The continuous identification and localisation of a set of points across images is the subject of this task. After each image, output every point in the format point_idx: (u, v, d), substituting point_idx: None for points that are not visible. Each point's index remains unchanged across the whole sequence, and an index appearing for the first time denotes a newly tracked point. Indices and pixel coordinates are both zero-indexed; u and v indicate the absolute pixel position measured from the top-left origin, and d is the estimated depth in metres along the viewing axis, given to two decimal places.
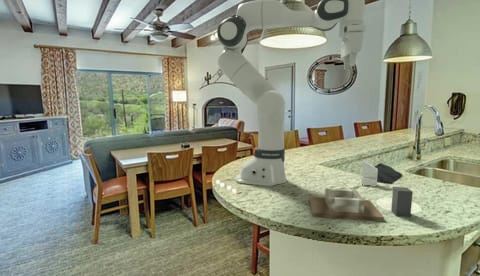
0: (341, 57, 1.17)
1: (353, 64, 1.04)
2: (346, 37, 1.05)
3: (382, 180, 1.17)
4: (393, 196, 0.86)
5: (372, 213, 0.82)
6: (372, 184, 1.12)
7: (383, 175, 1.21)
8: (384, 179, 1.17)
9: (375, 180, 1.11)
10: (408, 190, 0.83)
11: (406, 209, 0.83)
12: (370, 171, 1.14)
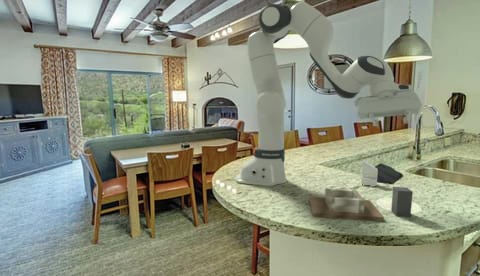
0: (364, 111, 0.98)
1: None
2: (399, 94, 0.97)
3: (383, 180, 1.17)
4: (393, 196, 0.86)
5: (372, 213, 0.82)
6: (372, 184, 1.12)
7: (383, 175, 1.20)
8: (385, 179, 1.17)
9: (375, 180, 1.11)
10: (408, 190, 0.83)
11: (406, 209, 0.83)
12: (370, 171, 1.14)
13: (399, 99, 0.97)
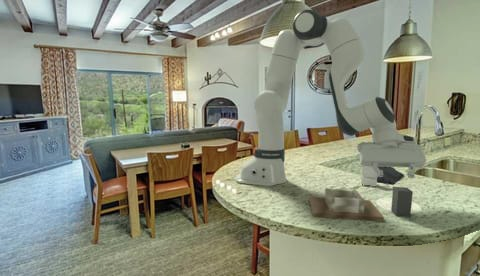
0: (369, 159, 0.93)
1: None
2: (404, 145, 0.94)
3: (383, 180, 1.17)
4: (393, 196, 0.86)
5: (372, 213, 0.82)
6: (372, 184, 1.12)
7: (384, 175, 1.20)
8: (385, 179, 1.17)
9: (375, 180, 1.11)
10: (408, 190, 0.83)
11: (406, 209, 0.83)
12: (370, 171, 1.14)
13: (403, 151, 0.94)
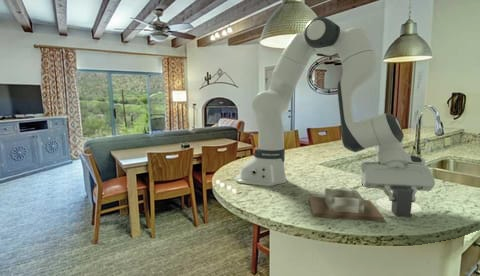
0: (374, 181, 0.87)
1: None
2: (411, 167, 0.88)
3: None
4: None
5: (372, 213, 0.82)
6: None
7: None
8: None
9: None
10: (408, 190, 0.83)
11: (406, 209, 0.83)
12: None
13: (410, 172, 0.87)
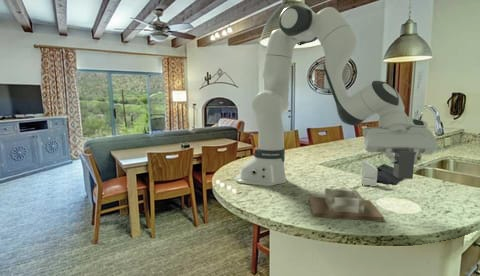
0: (375, 144, 0.85)
1: None
2: (413, 130, 0.86)
3: (385, 181, 1.16)
4: None
5: (372, 213, 0.82)
6: (372, 184, 1.12)
7: (386, 176, 1.19)
8: (387, 180, 1.16)
9: (375, 180, 1.11)
10: (410, 151, 0.81)
11: (409, 170, 0.81)
12: (370, 171, 1.14)
13: (413, 135, 0.86)
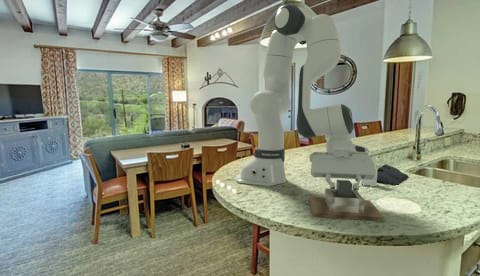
0: (318, 170, 0.90)
1: None
2: (355, 156, 0.91)
3: (387, 182, 1.15)
4: (336, 189, 0.89)
5: (372, 213, 0.82)
6: (372, 184, 1.12)
7: (388, 176, 1.18)
8: (389, 181, 1.15)
9: (375, 180, 1.11)
10: (349, 183, 0.86)
11: None
12: None
13: (354, 162, 0.90)
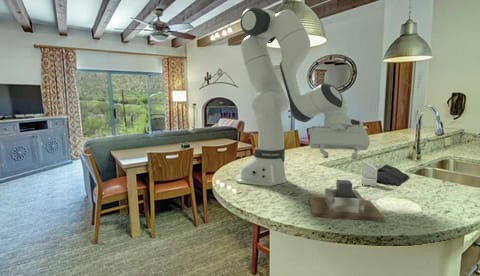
0: (316, 142, 0.97)
1: None
2: (350, 129, 0.98)
3: (388, 182, 1.14)
4: (336, 189, 0.89)
5: (372, 213, 0.82)
6: (372, 184, 1.12)
7: (389, 177, 1.18)
8: (390, 181, 1.14)
9: (375, 180, 1.11)
10: (349, 183, 0.86)
11: None
12: (370, 171, 1.14)
13: (350, 134, 0.98)
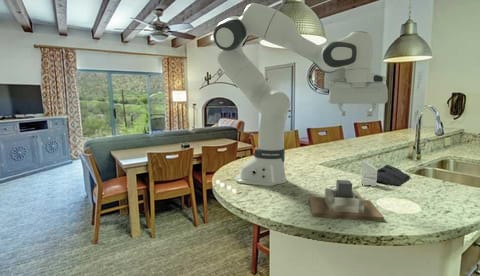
0: (335, 102, 1.01)
1: None
2: (371, 86, 0.98)
3: (389, 182, 1.14)
4: (336, 189, 0.89)
5: (372, 213, 0.82)
6: (372, 184, 1.12)
7: (390, 177, 1.17)
8: (391, 181, 1.14)
9: (375, 180, 1.11)
10: (349, 183, 0.86)
11: None
12: (370, 171, 1.14)
13: (370, 90, 0.99)
